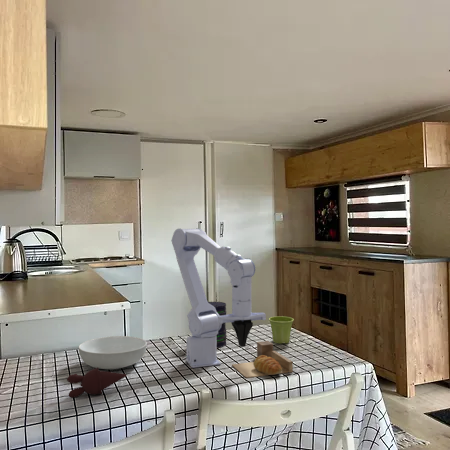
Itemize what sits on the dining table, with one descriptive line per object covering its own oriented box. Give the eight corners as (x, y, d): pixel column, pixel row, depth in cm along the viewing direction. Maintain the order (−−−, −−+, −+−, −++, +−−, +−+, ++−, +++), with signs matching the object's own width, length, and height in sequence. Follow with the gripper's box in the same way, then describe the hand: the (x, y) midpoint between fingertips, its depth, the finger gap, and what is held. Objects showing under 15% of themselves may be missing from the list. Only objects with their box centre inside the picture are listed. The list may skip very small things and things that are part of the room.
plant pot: (297, 340, 165) (297, 317, 165) (287, 346, 157) (287, 322, 157) (275, 337, 170) (275, 315, 170) (264, 343, 162) (264, 319, 162)
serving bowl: (142, 375, 128) (142, 352, 128) (70, 377, 127) (69, 354, 127) (150, 354, 149) (150, 334, 149) (88, 356, 148) (88, 335, 148)
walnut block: (261, 360, 142) (261, 345, 142) (257, 357, 145) (257, 342, 145) (273, 359, 143) (273, 344, 143) (268, 355, 147) (267, 340, 147)
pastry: (287, 373, 128) (287, 360, 128) (269, 378, 124) (269, 364, 124) (268, 364, 136) (268, 352, 136) (250, 369, 132) (250, 356, 132)
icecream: (123, 361, 121) (66, 372, 116) (126, 362, 114) (65, 374, 109) (126, 387, 120) (69, 399, 115) (129, 389, 113) (68, 403, 108)
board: (246, 378, 125) (246, 367, 125) (231, 365, 137) (231, 355, 137) (292, 371, 130) (292, 361, 130) (275, 360, 141) (275, 350, 141)
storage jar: (195, 342, 163) (195, 303, 163) (218, 339, 168) (218, 300, 168) (207, 349, 155) (207, 307, 155) (231, 345, 159) (231, 304, 159)
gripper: (222, 303, 122) (223, 352, 122) (269, 300, 127) (270, 347, 127) (215, 299, 129) (215, 345, 129) (260, 296, 134) (260, 341, 134)
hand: (242, 345), depth 128 cm, fingers closed
